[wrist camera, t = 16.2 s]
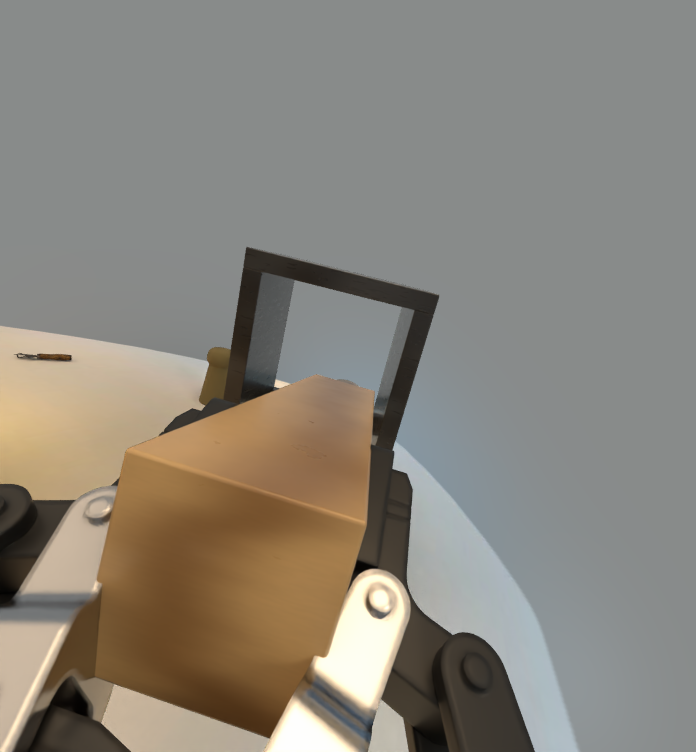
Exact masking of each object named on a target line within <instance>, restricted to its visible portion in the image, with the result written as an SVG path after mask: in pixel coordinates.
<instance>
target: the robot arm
mask: <svg viewBox="0 0 696 752" xmlns="http://www.w3.org/2000/svg"><path fill="white" fill-rule="evenodd" d="M237 405H238V404H236V403H233V402H229V401H226V400H223V399H219V398H216V397H214V398H212V399H211V400H210V401H209V402H208V404H207V405H206V406H205V407H204V408H203V409H202V411H200V410H196V409H193V408H192V409H190V410H188V411H187V412H185V413H183V414H181V415H179V416H177V417H176V418H175V419H174V420H173V421H172V422H171V423H170V424H169V425H168V426H167V427H166V428H165V429H164V432H162V433H161V434H160V435H159V436H161V435H163V434H166V433H168V432H171V431H173V430H176V429H178V428H181V427H183V426H186V425H189V424H191V423H194V422H196V421H199V420H201V419H204V418H206V417H209V416H211V415H214V414H217V413H219V412H222V411H224V410H227V409H229V408H232V407H235V406H237ZM393 459H394V451H392V450H389V449H385V448H382V447H379V446H375V445H372V444H371V463H370V481H369V498H368V515H367V527H366V530H365V534H364V537H363V540H362V544H361V547H360V550H359V554H358V557H357V560H356V564H355V567H354V570H353V574H352V577H351V581H350V584H349V587H348V591H347V594H346V597H345V601H344V604H343V607H342V611H341V614H340V617H339V621H338V624H337V627H336V631H335V634H334V638H333V641H332V644H331V648H330V651H329V654H328V655H327V657H325V658H321V657H318V656H314V658H313V660H312V662H311V664H310V666H309V667H308V669H307V671H306V673H305V675H304V676H303V678H302V679H301V681H300V683H299V685H298V686H297V688H296V690H295V692H294V694H293V696H292V697H291V699H290V701H289V703H288V705H287V707H286V709H285V711H284V713H283V715H282V717H281V718H280V720H279V722H278V724H277V726H276V728H275V730H274V732H273V734H272V736H271V738H270V740H269V741H268V743H267V745H266V747H265V749H264V751H263V752H368V748H369V745H370V741H371V735H372V725H373V721H374V718H375V715H376V712H377V709H378V706H379V703H380V700H381V699H382V700H383V701H384V702H385V703H386V704H387V705H389V706H390V707H391V708H392V709H393V710H394V711H396V712H397V713H398V714H399V715H400V716H401V717H403V719H404V725H405V731H406V737H407V743H408V749H409V752H535V751H534V748H533V745H532V742H531V740H530V737H529V734H528V731H527V728H526V726H525V723H524V720H523V717H522V714H521V712H520V709H519V706H518V703H517V700H516V698H515V695H514V692H513V689H512V686H511V684H510V681H509V678H508V675H507V672H506V670H505V667H504V665H503V663H502V661H501V659H500V657H499V656H498V654H497V653H496V652H495V650H494V649H493V648H492V647H491V646H490V645H489V644H488V643H487V642H486V641H485V640H483V639H482V638H480V637H478V636H476V635H474V634H471V633H464V632H462V633H457V634H455V635H452V634H451V633H449V632H448V631H447V630H445V629H444V628H442V627H441V626H440V625H438V624H437V623H436V622H434V621H433V620H432V619H430V618H429V617H428V616H426V615H425V614H424V613H423V612H422V611H421V610H420V609H419V607H418V606H417V605H416V603H415V602H414V600H413V598H412V596H411V594H410V592H409V589H408V585H407V561H408V547H409V533H410V519H411V506H412V492H413V489H412V486H411V484H410V481H409V478H408V475H407V473H404V472H400V471H397V470H394V469H392V466H393ZM119 478H120V477H119ZM119 478H118V480H117V481H116V482H114V483H113V484H112V485H111V486H105V487H100V488H97V489H94V490H91V491H89V492H87V493H85V494H84V495H82V496H81V497H79V498H78V499H77V500H32V498H31V496H30V494H29V492H28V491H27V490H26V489H25V488H24V487H22V486H19V485H15V484H0V752H131V751H130V750H129V749H127V748H126V747H125V746H124V745H123V744H122V743H121V742H120V741H119V740H118V739H117V738H116V737H115V736H114V735H113V734H112V733H111V732H110V731H109V730H107V729H106V728H105V727H104V726H103V725H102V724H101V722H102V719H103V716H104V713H105V710H106V707H107V704H108V702H109V699H110V696H111V692H112V689H113V685H114V684H113V683H110V682H107V681H104V680H101V679H99V678H96V677H95V668H96V656H97V644H98V632H99V618H100V608H101V596H102V584H101V583H98V582H97V580H96V578H97V574H98V569H99V565H100V561H101V556H102V552H103V548H104V543H105V539H106V535H107V530H108V526H109V522H110V517H111V513H112V509H113V504H114V500H115V496H116V491H117V487H118V483H119Z"/></svg>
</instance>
